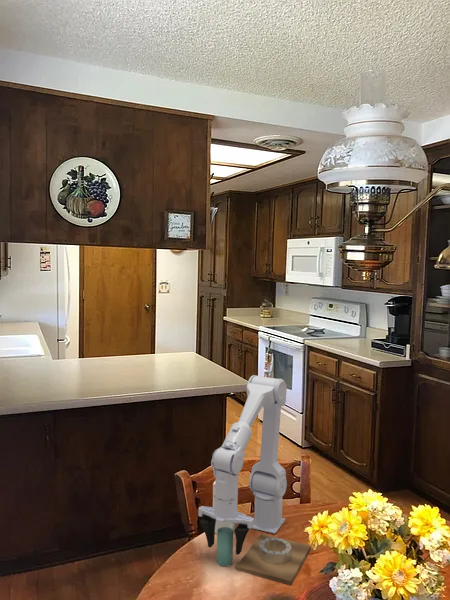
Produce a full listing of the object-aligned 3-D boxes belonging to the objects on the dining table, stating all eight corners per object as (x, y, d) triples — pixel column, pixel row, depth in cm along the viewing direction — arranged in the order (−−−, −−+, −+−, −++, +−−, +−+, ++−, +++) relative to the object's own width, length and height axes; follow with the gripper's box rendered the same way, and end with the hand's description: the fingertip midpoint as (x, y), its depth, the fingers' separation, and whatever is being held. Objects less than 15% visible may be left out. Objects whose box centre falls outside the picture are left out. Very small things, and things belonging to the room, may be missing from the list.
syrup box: (232, 535, 143) (233, 484, 142) (211, 533, 144) (212, 482, 144) (235, 526, 149) (237, 476, 148) (215, 523, 150) (217, 474, 149)
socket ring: (265, 544, 137) (265, 535, 137) (294, 551, 134) (294, 542, 134) (254, 559, 130) (255, 549, 130) (285, 567, 126) (285, 557, 126)
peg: (220, 556, 133) (221, 525, 132) (234, 559, 131) (235, 529, 131) (214, 563, 129) (214, 532, 129) (228, 567, 127) (229, 536, 127)
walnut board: (261, 536, 143) (261, 533, 143) (310, 549, 137) (310, 545, 137) (235, 569, 126) (236, 565, 126) (290, 585, 121) (290, 581, 121)
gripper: (193, 496, 129) (191, 549, 129) (247, 508, 123) (245, 564, 123) (205, 486, 135) (204, 536, 136) (257, 497, 129) (256, 550, 130)
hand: (224, 549), depth 130 cm, fingers open, 7 cm apart
